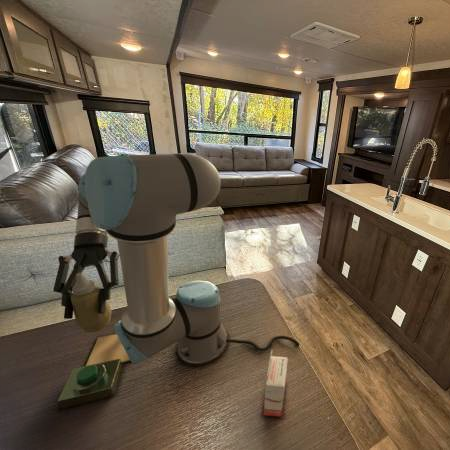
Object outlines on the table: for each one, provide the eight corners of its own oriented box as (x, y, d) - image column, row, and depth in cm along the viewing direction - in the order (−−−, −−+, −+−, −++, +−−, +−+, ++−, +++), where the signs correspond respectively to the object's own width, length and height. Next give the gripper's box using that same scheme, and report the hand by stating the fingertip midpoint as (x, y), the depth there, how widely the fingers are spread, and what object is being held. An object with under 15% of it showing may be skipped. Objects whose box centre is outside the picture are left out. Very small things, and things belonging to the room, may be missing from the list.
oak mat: (140, 330, 85) (140, 329, 85) (133, 360, 75) (132, 359, 75) (98, 338, 81) (98, 337, 80) (84, 371, 70) (83, 370, 70)
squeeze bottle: (96, 338, 68) (76, 286, 61) (72, 332, 69) (49, 280, 62) (121, 317, 75) (105, 268, 68) (98, 312, 77) (81, 263, 69)
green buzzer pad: (122, 365, 73) (119, 353, 71) (113, 395, 65) (109, 382, 63) (76, 375, 69) (71, 363, 67) (60, 408, 61) (54, 396, 59)
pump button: (100, 368, 67) (98, 363, 66) (95, 382, 64) (93, 377, 63) (82, 372, 66) (80, 367, 65) (76, 387, 62) (73, 381, 61)
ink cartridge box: (282, 417, 64) (286, 379, 58) (263, 415, 64) (265, 377, 58) (285, 385, 72) (288, 349, 66) (268, 383, 72) (270, 347, 66)
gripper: (133, 236, 80) (131, 309, 73) (57, 242, 73) (46, 323, 66) (126, 228, 74) (123, 307, 66) (41, 233, 67) (28, 323, 59)
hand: (85, 315), depth 66 cm, fingers closed on squeeze bottle, 6 cm apart
